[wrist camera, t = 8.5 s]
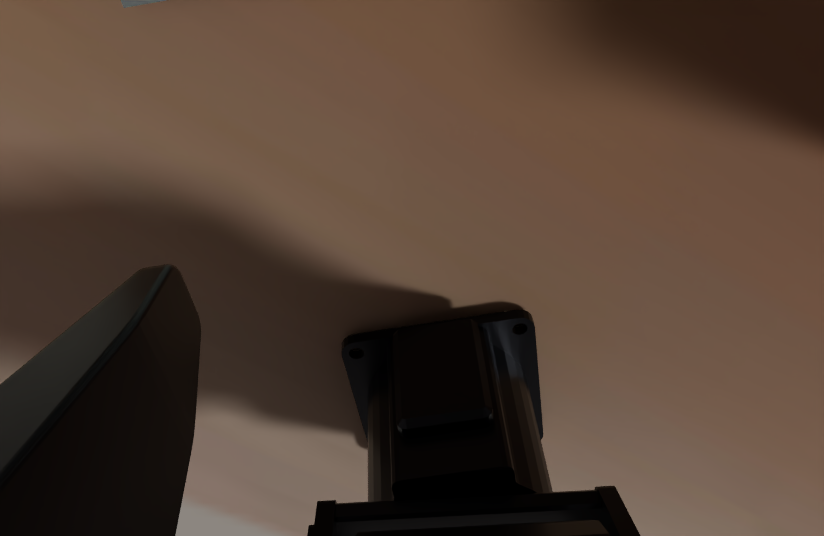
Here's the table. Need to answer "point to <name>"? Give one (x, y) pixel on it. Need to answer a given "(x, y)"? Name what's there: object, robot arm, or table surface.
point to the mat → (137, 2)
